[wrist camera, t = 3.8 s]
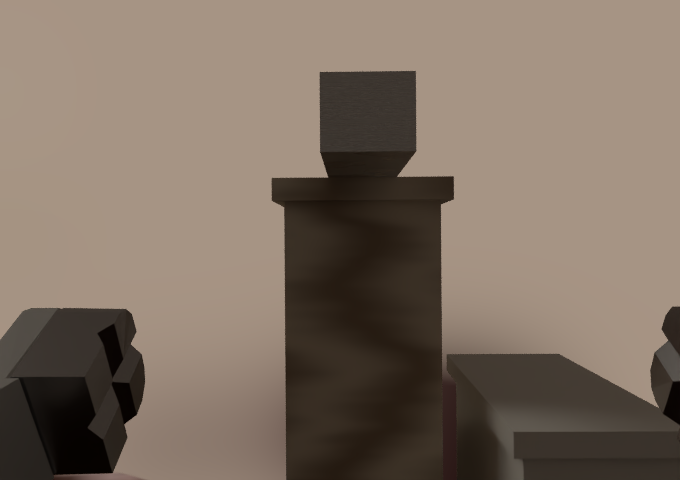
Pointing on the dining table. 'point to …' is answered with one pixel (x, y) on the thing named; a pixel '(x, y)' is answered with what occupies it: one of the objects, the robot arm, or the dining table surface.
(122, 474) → the dining table surface
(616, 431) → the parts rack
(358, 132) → the bar
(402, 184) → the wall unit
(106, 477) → the dining table surface
